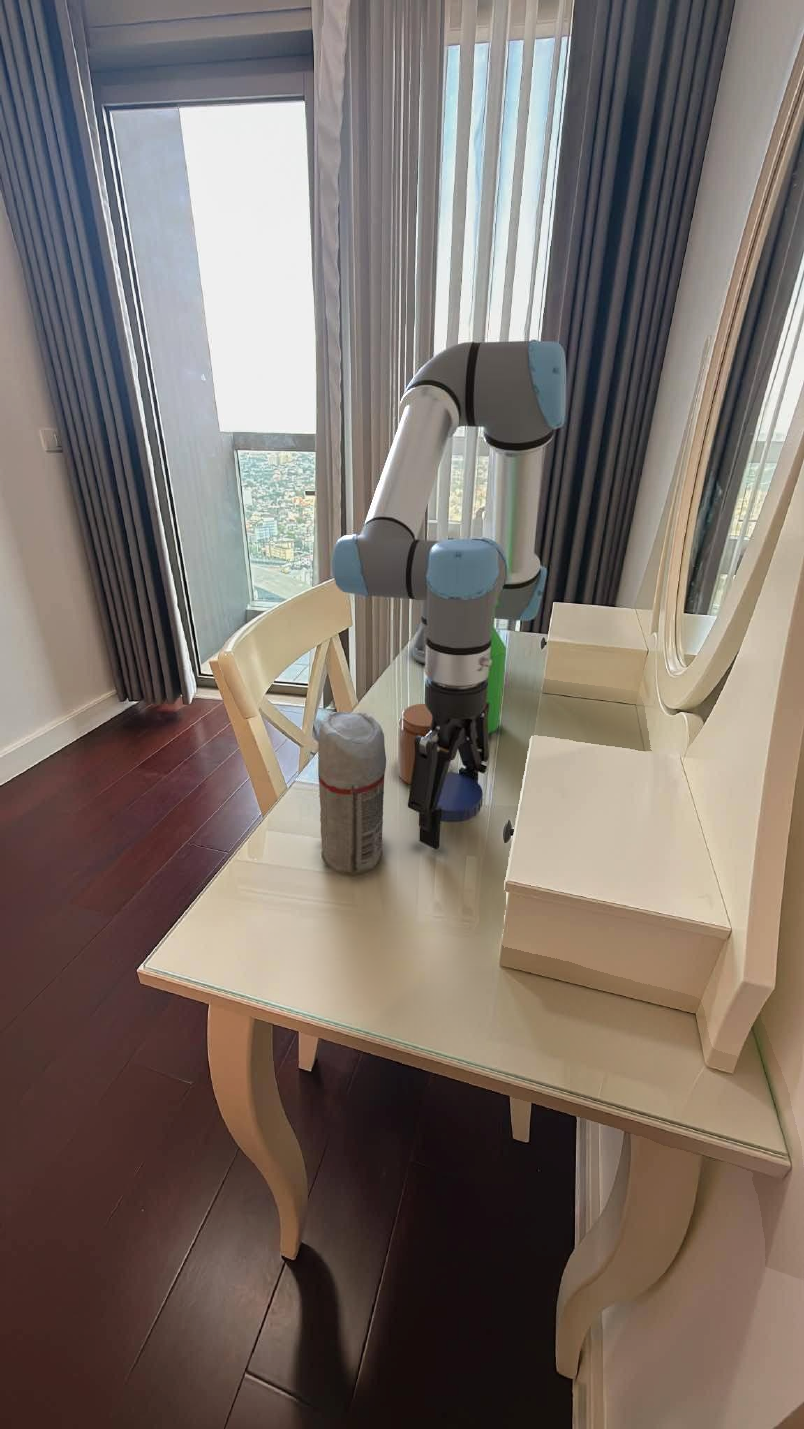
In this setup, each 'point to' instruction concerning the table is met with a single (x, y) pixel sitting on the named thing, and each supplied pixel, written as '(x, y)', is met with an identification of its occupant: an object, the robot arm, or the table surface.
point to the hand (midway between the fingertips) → (448, 825)
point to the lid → (459, 798)
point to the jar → (412, 737)
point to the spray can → (351, 791)
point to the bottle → (495, 678)
